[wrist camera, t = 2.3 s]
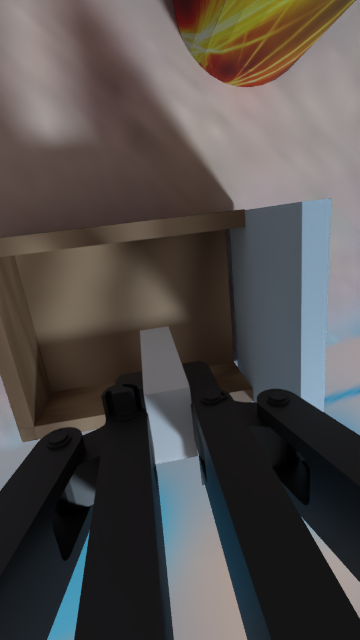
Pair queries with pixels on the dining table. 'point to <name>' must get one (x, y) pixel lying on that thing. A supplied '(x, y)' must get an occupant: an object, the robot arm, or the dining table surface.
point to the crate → (110, 312)
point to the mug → (253, 35)
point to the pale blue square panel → (283, 297)
